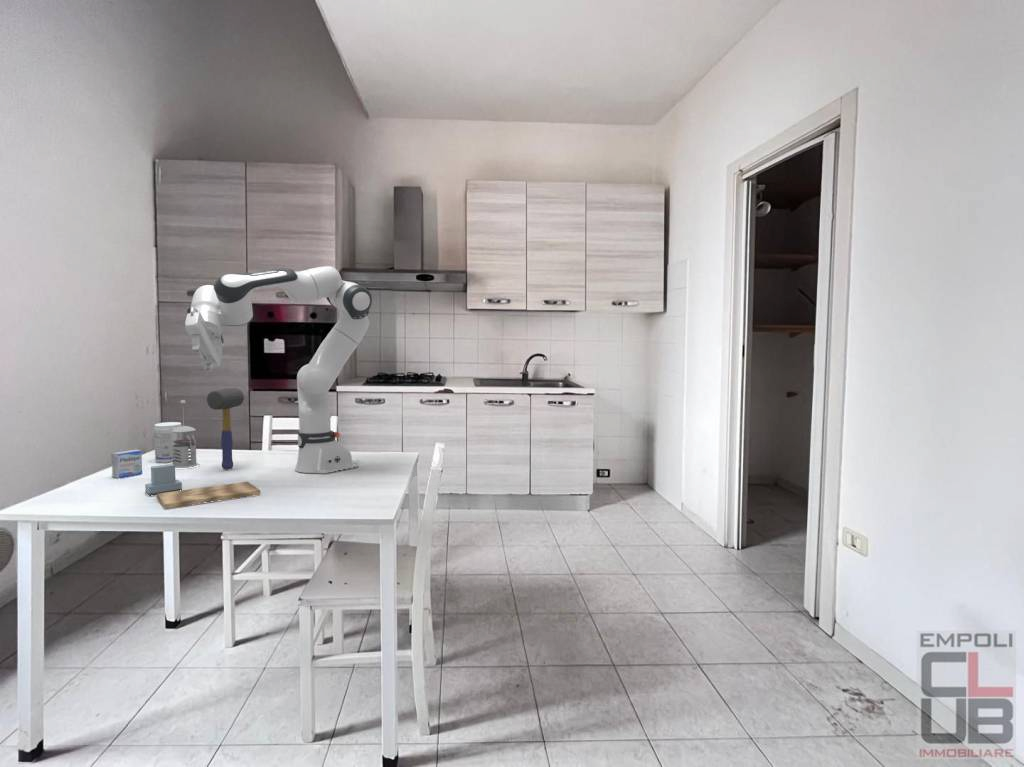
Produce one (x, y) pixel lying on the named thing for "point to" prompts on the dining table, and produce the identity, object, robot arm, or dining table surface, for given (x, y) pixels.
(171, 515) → the dining table surface
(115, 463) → the medicine box
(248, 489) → the oak board
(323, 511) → the dining table surface
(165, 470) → the block
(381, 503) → the dining table surface
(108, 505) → the dining table surface
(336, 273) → the robot arm
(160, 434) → the supplement tub
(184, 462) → the french press
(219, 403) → the rubber mallet
